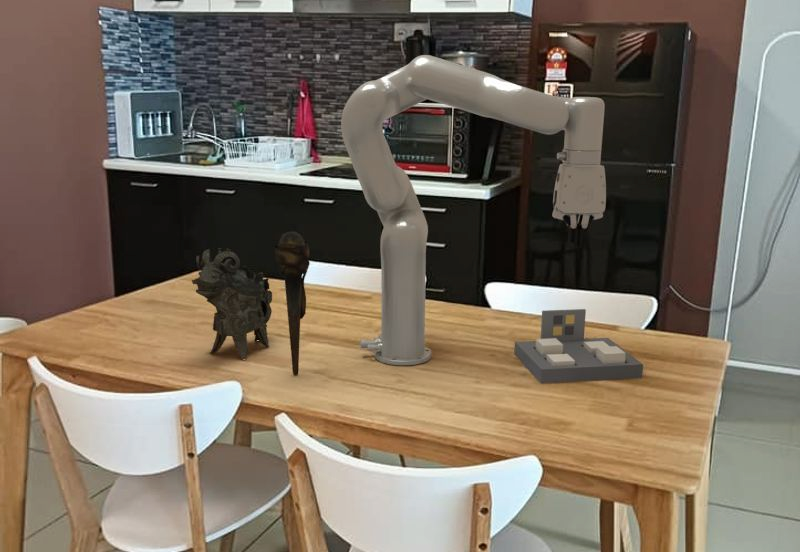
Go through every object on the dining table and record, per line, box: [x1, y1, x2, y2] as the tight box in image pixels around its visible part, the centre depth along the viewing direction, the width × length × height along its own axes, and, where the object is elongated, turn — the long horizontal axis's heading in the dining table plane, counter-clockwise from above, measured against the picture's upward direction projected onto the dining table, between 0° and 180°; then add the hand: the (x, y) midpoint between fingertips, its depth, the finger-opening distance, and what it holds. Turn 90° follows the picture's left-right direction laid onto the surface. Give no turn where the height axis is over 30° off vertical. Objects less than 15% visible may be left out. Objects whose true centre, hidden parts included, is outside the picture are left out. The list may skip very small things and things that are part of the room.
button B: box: [596, 346, 626, 364], centre depth 174 cm, size 4×4×2 cm
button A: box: [546, 354, 575, 367], centre depth 173 cm, size 4×4×2 cm
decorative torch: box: [274, 231, 311, 376], centre depth 169 cm, size 7×7×30 cm
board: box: [513, 337, 644, 384], centre depth 179 cm, size 22×18×3 cm
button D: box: [583, 341, 610, 353], centre depth 181 cm, size 4×4×2 cm
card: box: [540, 308, 587, 341], centre depth 186 cm, size 10×1×7 cm, turn 100°
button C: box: [535, 338, 563, 355], centre depth 179 cm, size 4×4×2 cm
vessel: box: [191, 247, 273, 360], centre depth 183 cm, size 11×25×24 cm, turn 155°
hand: (575, 245), depth 175 cm, fingers closed
